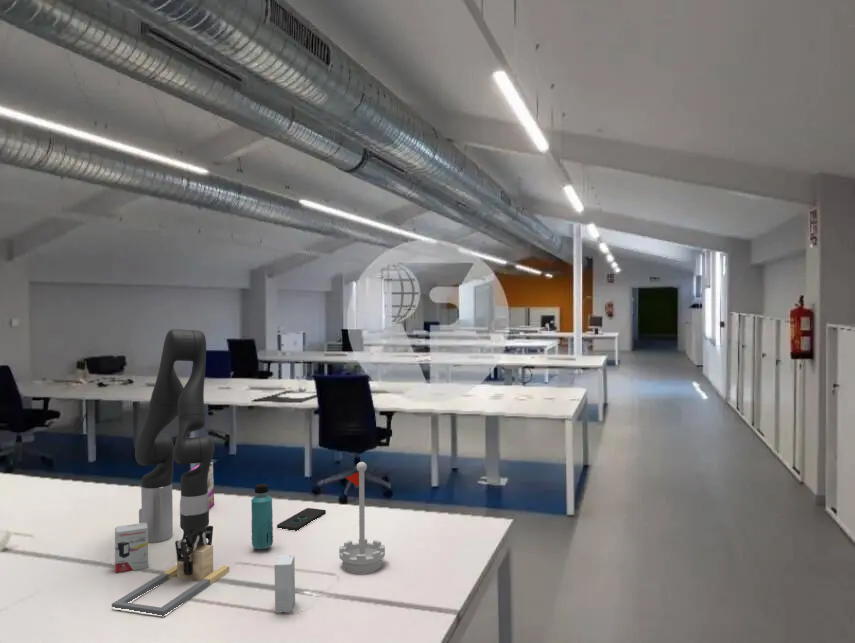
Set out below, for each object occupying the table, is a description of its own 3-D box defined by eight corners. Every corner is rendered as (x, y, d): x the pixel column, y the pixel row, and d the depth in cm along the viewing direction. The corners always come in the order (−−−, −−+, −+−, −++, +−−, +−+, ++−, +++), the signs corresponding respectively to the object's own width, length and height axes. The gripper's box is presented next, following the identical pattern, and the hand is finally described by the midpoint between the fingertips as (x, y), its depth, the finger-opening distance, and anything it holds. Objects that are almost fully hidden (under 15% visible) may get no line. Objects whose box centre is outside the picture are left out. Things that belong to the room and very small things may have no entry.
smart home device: (275, 524, 213) (306, 507, 232) (275, 529, 213) (307, 512, 232) (296, 527, 210) (326, 509, 229) (296, 532, 210) (326, 514, 229)
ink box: (115, 573, 177) (114, 532, 177) (114, 567, 181) (114, 526, 181) (148, 567, 181) (148, 527, 181) (147, 561, 185) (147, 521, 185)
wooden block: (177, 578, 174) (176, 549, 174) (188, 570, 179) (188, 542, 179) (202, 581, 172) (201, 552, 172) (213, 574, 177) (212, 545, 177)
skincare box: (278, 601, 160) (277, 554, 159) (295, 601, 160) (295, 554, 160) (274, 613, 154) (274, 564, 153) (292, 612, 154) (291, 564, 154)
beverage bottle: (267, 554, 190) (267, 488, 190) (247, 552, 192) (246, 487, 191) (277, 546, 197) (276, 482, 196) (257, 544, 198) (256, 481, 198)
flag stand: (391, 559, 186) (391, 458, 186) (373, 577, 174) (373, 469, 173) (351, 554, 191) (351, 455, 190) (331, 571, 178) (330, 465, 178)
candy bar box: (201, 505, 238) (200, 462, 238) (214, 505, 238) (214, 462, 238) (189, 515, 227) (189, 469, 226) (203, 515, 227) (203, 469, 226)
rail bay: (111, 609, 156) (111, 603, 156) (183, 565, 182) (183, 560, 182) (163, 617, 152) (163, 611, 152) (229, 571, 178) (229, 566, 178)
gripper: (198, 500, 183) (199, 558, 183) (165, 516, 169) (166, 579, 169) (221, 502, 181) (222, 561, 181) (189, 519, 167) (190, 582, 167)
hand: (195, 569), depth 175 cm, fingers open, 5 cm apart
